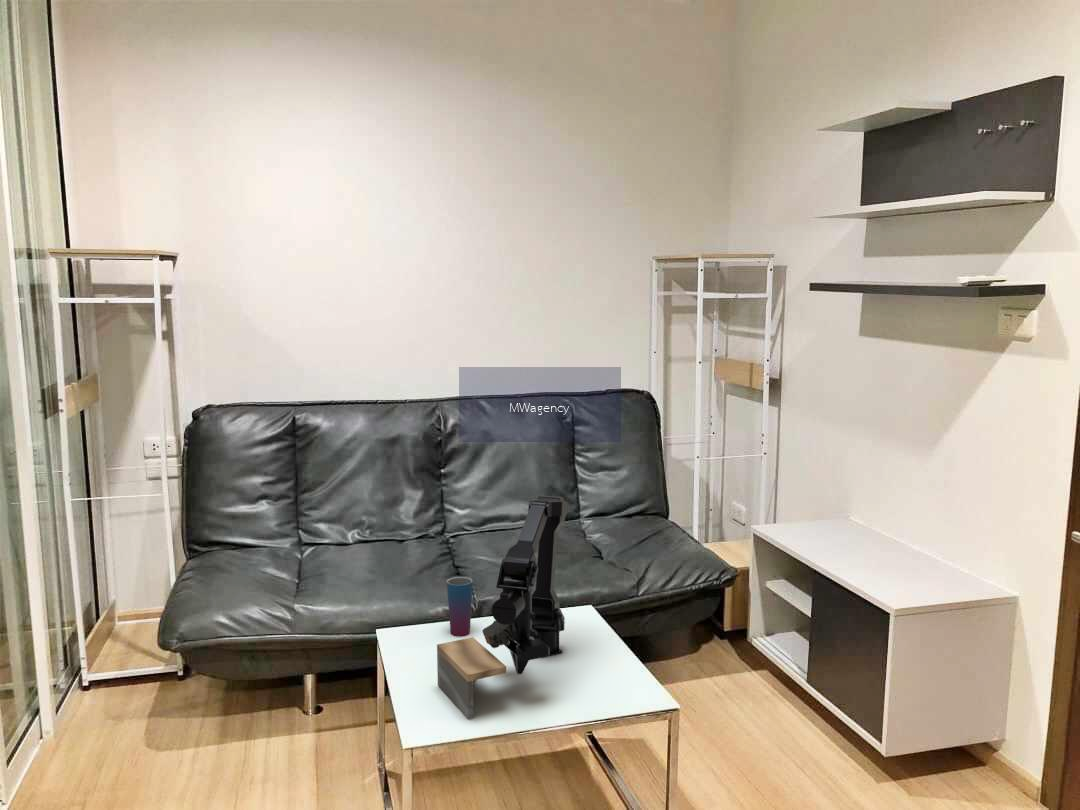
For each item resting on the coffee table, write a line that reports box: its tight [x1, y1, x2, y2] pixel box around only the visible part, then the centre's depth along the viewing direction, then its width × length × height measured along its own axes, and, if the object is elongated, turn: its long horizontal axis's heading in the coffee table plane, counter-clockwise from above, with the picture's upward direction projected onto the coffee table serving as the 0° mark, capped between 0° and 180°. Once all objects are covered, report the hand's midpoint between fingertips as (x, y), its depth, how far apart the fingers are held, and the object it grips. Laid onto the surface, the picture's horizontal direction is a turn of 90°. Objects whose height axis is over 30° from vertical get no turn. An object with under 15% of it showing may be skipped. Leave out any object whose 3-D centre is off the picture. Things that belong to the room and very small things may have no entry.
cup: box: [446, 576, 474, 638], centre depth 226 cm, size 7×7×15 cm
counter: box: [436, 636, 507, 721], centre depth 191 cm, size 9×18×10 cm, turn 28°
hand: (519, 673), depth 197 cm, fingers closed
